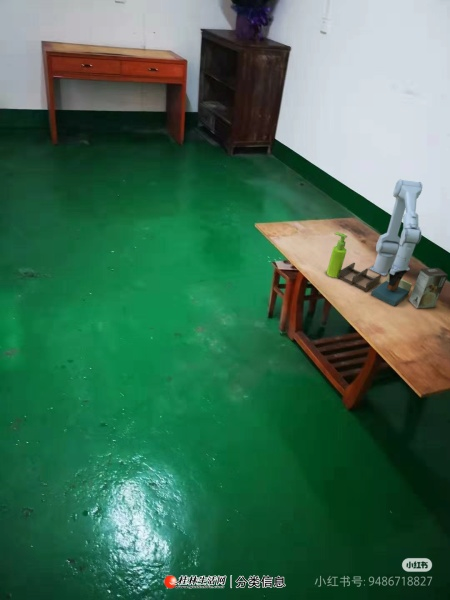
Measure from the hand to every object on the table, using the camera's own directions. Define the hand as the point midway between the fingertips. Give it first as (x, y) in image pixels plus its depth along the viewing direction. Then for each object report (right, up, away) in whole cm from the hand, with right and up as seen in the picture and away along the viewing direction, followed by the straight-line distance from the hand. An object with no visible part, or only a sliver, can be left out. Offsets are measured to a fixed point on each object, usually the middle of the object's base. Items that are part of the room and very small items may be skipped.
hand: (393, 283), depth 197 cm
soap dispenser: (-23, +5, +14) cm, 28 cm away
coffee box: (+12, -9, 0) cm, 15 cm away
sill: (-1, -5, +3) cm, 6 cm away
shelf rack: (-12, +2, +12) cm, 17 cm away
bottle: (0, -2, +1) cm, 2 cm away
